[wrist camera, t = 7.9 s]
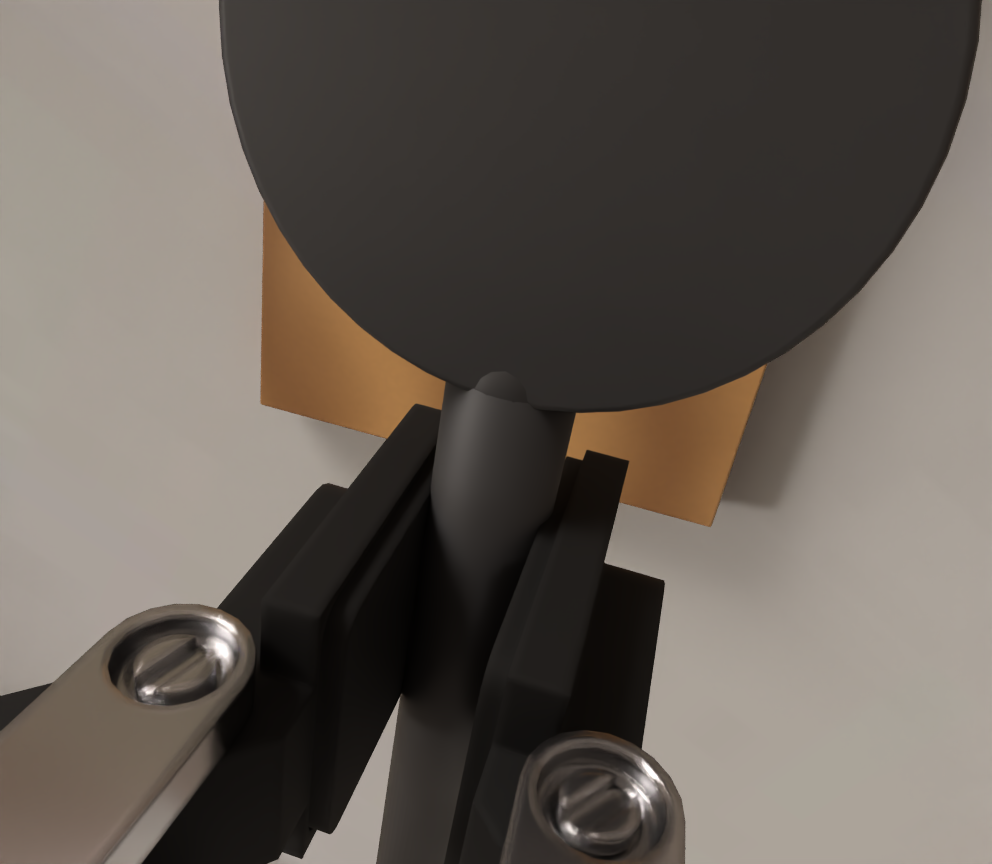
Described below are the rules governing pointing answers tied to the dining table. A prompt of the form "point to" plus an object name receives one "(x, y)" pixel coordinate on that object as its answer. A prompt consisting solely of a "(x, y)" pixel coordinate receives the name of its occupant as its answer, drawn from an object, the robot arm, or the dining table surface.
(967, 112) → the dining table surface
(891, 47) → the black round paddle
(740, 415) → the board
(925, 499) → the dining table surface
